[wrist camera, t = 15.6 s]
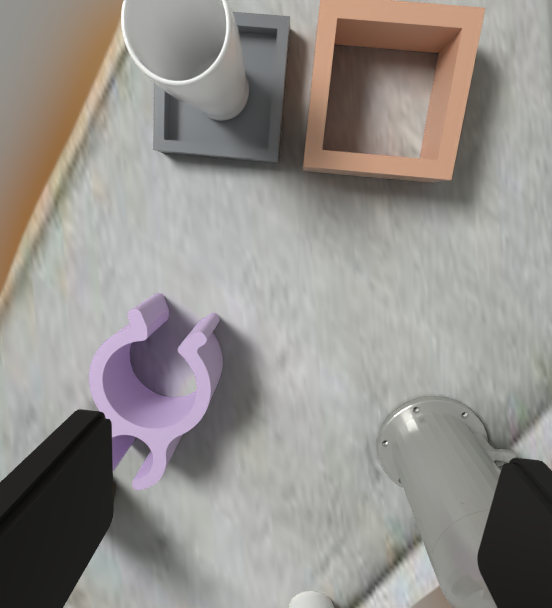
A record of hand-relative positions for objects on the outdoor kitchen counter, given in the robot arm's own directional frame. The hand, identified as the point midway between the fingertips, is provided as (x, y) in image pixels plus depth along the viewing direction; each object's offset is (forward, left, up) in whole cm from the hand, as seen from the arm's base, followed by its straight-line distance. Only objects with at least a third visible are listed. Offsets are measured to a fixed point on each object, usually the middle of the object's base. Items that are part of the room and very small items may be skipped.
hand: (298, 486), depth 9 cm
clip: (+14, +15, -35) cm, 41 cm away
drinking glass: (+9, -16, -34) cm, 38 cm away
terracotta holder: (-6, -16, -34) cm, 38 cm away
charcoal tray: (+9, -16, -34) cm, 39 cm away
